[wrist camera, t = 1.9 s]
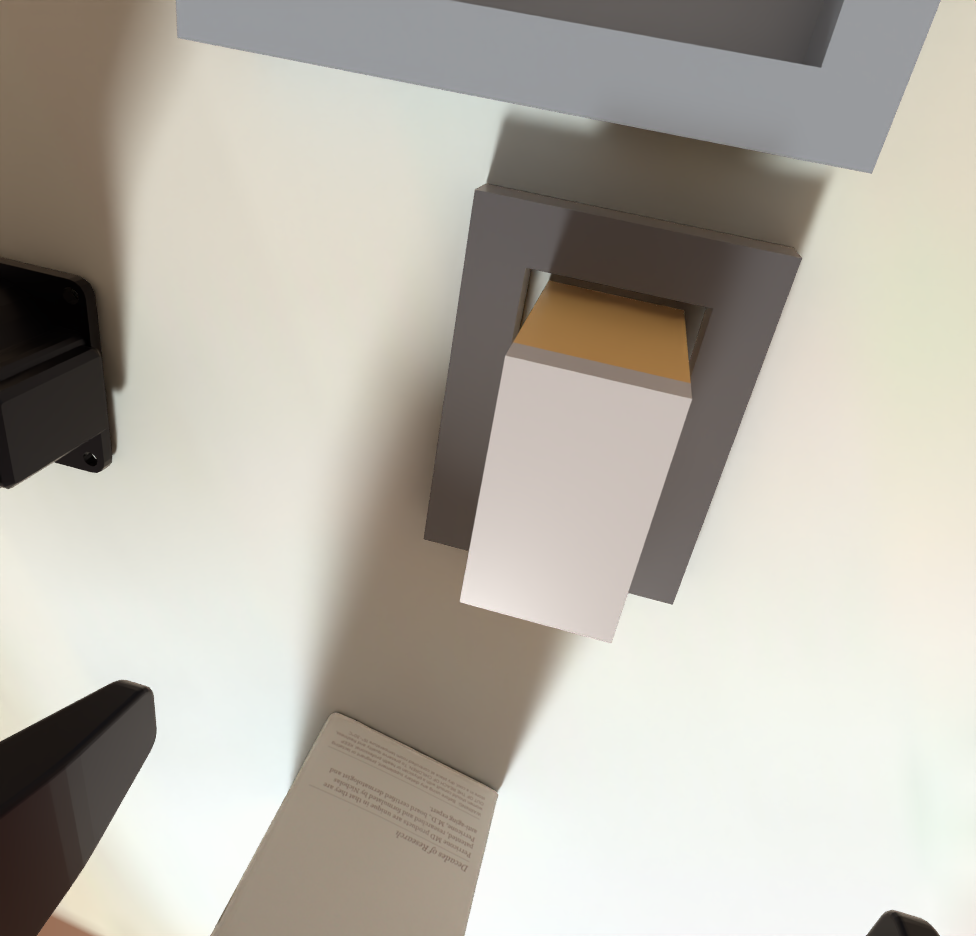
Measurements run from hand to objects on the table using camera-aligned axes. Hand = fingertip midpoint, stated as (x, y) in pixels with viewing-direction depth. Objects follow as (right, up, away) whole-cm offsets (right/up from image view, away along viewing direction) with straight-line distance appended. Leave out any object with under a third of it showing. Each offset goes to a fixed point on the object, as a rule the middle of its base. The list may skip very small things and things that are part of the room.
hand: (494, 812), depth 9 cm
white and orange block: (+3, +6, +11) cm, 13 cm away
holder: (+3, +6, +11) cm, 13 cm away
